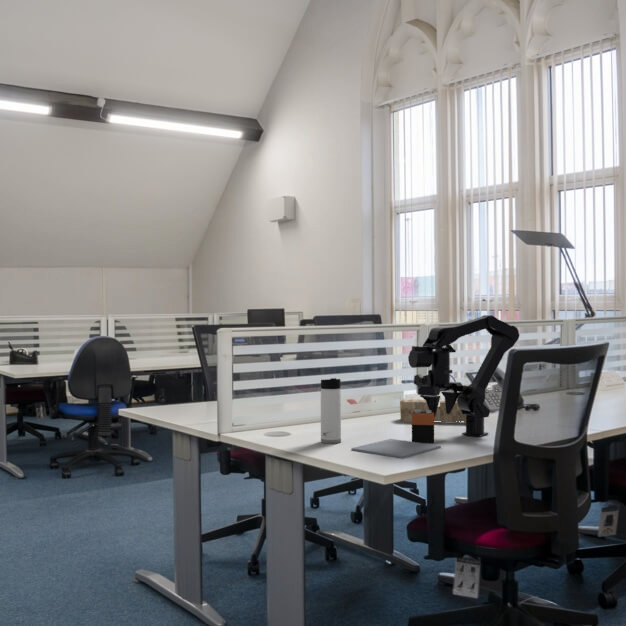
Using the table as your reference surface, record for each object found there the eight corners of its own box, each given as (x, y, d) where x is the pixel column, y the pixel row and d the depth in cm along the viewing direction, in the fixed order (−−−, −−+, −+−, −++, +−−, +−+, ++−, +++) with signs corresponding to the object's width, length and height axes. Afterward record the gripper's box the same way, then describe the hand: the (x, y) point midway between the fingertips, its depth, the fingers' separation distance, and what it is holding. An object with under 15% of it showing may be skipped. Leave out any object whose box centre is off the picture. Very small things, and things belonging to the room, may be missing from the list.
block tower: (400, 424, 268) (481, 424, 262) (399, 401, 268) (481, 400, 262) (401, 421, 275) (481, 420, 270) (400, 399, 275) (480, 398, 270)
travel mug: (324, 444, 223) (324, 378, 223) (318, 440, 229) (318, 376, 229) (344, 443, 225) (343, 378, 224) (337, 439, 231) (337, 376, 231)
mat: (390, 440, 229) (390, 438, 229) (440, 447, 217) (440, 445, 217) (351, 450, 213) (351, 448, 213) (403, 458, 202) (403, 455, 202)
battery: (412, 440, 229) (412, 408, 229) (434, 441, 228) (434, 409, 228) (411, 443, 224) (411, 410, 224) (434, 443, 223) (434, 411, 223)
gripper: (434, 364, 246) (434, 410, 246) (403, 367, 232) (403, 416, 232) (463, 365, 239) (463, 413, 239) (433, 369, 225) (433, 419, 225)
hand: (440, 415), depth 234 cm, fingers open, 9 cm apart
